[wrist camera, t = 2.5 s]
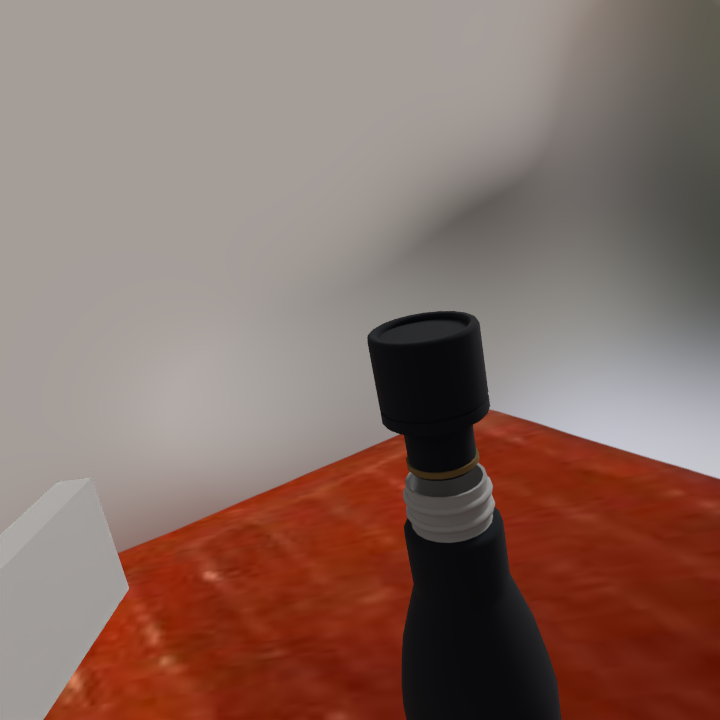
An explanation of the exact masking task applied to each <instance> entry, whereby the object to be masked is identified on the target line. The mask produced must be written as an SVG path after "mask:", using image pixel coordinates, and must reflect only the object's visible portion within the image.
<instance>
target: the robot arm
mask: <svg viewBox="0 0 720 720" xmlns="http://www.w3.org/2000/svg"><path fill="white" fill-rule="evenodd" d="M128 589H129V587H128V584H127V581H126V578H125V575H124V572H123V569H122V566H121V563H120V560H119V557H118V554H117V551H116V548H115V545H114V542H113V539H112V536H111V533H110V530H109V527H108V524H107V522H106V518H105V515H104V512H103V509H102V507H101V503H100V500H99V497H98V494H97V491H96V488H95V485H94V483H93V480H92V478H83V479H75V480H67V481H58V482H57V483H56V484H55V485H54V486H53V487H51V488H50V489H49V490H48V491H47V492H46V493H45V494H44V495H43V496H42V497H41V498H39V499H38V500H37V501H36V502H35V503H34V504H33V505H32V506H31V507H30V508H29V509H28V510H26V511H25V512H24V513H23V514H22V515H21V516H20V517H19V518H18V519H17V520H16V521H15V522H14V523H12V524H11V525H10V526H9V527H8V528H7V529H6V530H5V531H4V532H3V533H2V534H1V535H0V720H44V718H45V716H46V715H47V713H48V712H49V710H50V709H51V707H52V706H53V704H54V703H55V701H56V700H57V698H58V697H59V695H60V693H61V692H62V690H63V689H64V687H65V686H66V684H67V683H68V681H69V680H70V678H71V677H72V675H73V674H74V672H75V671H76V669H77V667H78V666H79V664H80V663H81V661H82V660H83V658H84V657H85V655H86V654H87V652H88V651H89V649H90V648H91V646H92V644H93V643H94V641H95V640H96V638H97V637H98V635H99V634H100V632H101V631H102V629H103V628H104V626H105V625H106V623H107V621H108V620H109V618H110V617H111V615H112V614H113V612H114V611H115V609H116V608H117V606H118V605H119V603H120V602H121V600H122V599H123V597H124V595H125V594H126V592H127V591H128Z"/></svg>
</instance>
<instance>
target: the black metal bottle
mask: <svg viewBox="0 0 720 720" xmlns="http://www.w3.org/2000/svg"><path fill="white" fill-rule="evenodd" d="M368 346H369V352H370V357H371V363H372V368H373V374H374V379H375V385H376V390H377V395H378V401H379V406H380V411H381V417H382V422H383V424H384V425H385V426H386V427H387V428H388V429H389V430H391V431H393V432H396V433H399V434H403V435H404V438H405V443H406V449H407V455H408V456H407V458H406V460H407V466H408V470H409V471H410V473H409V474H408V476H407V478H406V480H405V482H406V487H405V489H404V492H403V496H404V502H405V503H406V504H407V507H406V513H407V520H406V523H405V525H404V532H405V539H406V544H407V550H408V555H409V561H410V566H411V571H412V577H413V582H414V585H413V590H412V594H411V599H410V604H409V608H408V613H407V619H406V624H405V629H404V634H403V647H402V692H403V704H404V709H405V714H406V719H407V720H561V713H560V704H559V694H558V685H557V680H556V677H555V674H554V670H553V667H552V664H551V661H550V658H549V655H548V652H547V650H546V647H545V645H544V642H543V639H542V637H541V634H540V631H539V629H538V626H537V624H536V621H535V618H534V616H533V614H532V612H531V610H530V609H529V607H528V605H527V603H526V601H525V599H524V598H523V596H522V594H521V592H520V590H519V589H518V587H517V585H516V583H515V582H514V580H513V578H512V576H511V575H510V571H509V563H508V556H507V548H506V540H505V532H504V524H503V520H502V517H501V515H500V512H499V510H497V509H496V508H495V507H494V506H495V501H494V499H493V496H492V494H491V493H492V489H493V485H492V483H491V480H490V478H489V477H488V476H487V474H486V471H485V469H484V467H483V466H481V465H480V464H479V463H478V461H479V452H478V450H477V447H476V445H475V438H474V431H473V424H475V423H477V422H479V421H480V420H481V419H482V418H483V417H484V416H485V415H486V414H487V413H488V411H489V407H490V403H489V395H488V387H487V380H486V372H485V363H484V356H483V348H482V340H481V332H480V324H479V322H478V320H477V319H476V317H475V316H473V315H470V314H468V313H464V312H456V311H438V312H428V313H421V314H415V315H409V316H406V317H402V318H398V319H394V320H392V321H389V322H386V323H384V324H382V325H380V326H378V327H377V328H375V329H373V330H372V331H371V333H370V334H369V335H368Z"/></svg>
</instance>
